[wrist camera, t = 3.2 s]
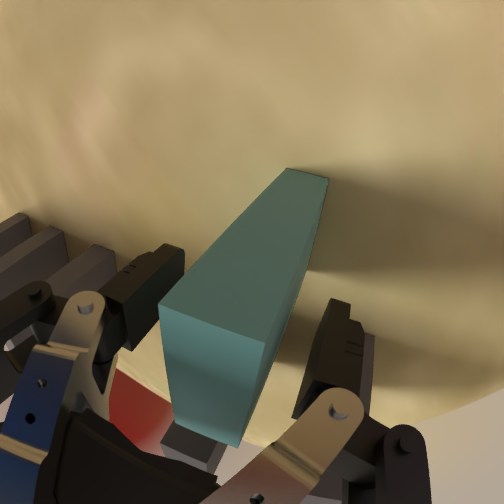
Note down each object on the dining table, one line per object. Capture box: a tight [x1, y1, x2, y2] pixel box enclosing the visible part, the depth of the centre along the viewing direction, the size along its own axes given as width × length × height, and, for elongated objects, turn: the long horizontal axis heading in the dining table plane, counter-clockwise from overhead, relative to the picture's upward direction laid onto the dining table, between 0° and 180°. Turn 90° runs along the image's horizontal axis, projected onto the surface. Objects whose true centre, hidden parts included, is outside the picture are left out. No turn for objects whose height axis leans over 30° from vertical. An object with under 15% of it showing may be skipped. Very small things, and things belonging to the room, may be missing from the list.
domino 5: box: [300, 333, 375, 504], centre depth 14 cm, size 5×2×10 cm, turn 172°
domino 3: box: [6, 244, 117, 350], centre depth 17 cm, size 5×2×10 cm, turn 172°
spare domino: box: [158, 168, 329, 448], centre depth 10 cm, size 5×2×10 cm, turn 172°
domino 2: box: [0, 226, 69, 301], centre depth 19 cm, size 5×2×10 cm, turn 172°
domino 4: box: [160, 419, 227, 475], centre depth 15 cm, size 5×2×10 cm, turn 172°
